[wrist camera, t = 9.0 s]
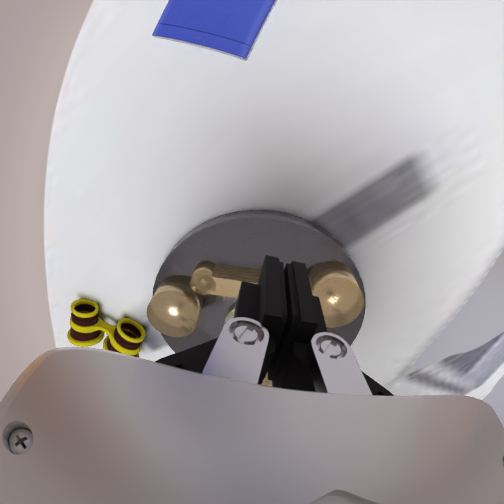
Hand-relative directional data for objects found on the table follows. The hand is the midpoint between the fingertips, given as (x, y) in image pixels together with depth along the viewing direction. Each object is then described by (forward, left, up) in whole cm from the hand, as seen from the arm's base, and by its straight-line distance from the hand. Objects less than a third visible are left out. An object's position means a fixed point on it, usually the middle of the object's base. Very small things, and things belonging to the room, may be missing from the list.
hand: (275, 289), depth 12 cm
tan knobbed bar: (-6, -2, -11) cm, 12 cm away
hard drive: (+18, +7, -14) cm, 24 cm away
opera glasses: (-19, +15, -14) cm, 27 cm away
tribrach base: (-11, -2, -13) cm, 17 cm away
